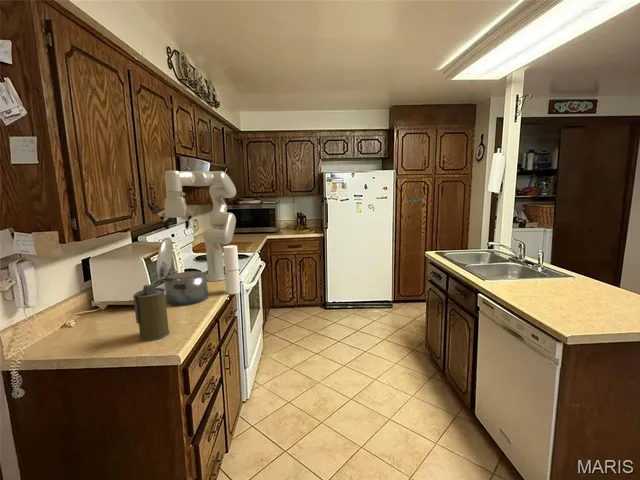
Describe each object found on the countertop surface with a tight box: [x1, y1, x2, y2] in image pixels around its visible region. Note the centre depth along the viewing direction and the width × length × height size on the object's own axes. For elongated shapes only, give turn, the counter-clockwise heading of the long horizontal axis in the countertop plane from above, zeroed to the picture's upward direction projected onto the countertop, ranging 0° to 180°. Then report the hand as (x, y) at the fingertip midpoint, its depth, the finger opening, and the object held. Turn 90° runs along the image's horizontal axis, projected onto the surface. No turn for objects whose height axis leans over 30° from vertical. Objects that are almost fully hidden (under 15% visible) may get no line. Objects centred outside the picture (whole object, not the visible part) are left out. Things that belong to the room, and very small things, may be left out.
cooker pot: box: [163, 270, 209, 307], centre depth 169 cm, size 24×20×12 cm
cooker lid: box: [156, 237, 174, 280], centre depth 166 cm, size 21×21×3 cm
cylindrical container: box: [222, 245, 241, 295], centre depth 178 cm, size 7×7×25 cm
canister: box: [132, 283, 170, 342], centre depth 127 cm, size 11×10×20 cm
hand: (177, 228), depth 171 cm, fingers open, 9 cm apart
